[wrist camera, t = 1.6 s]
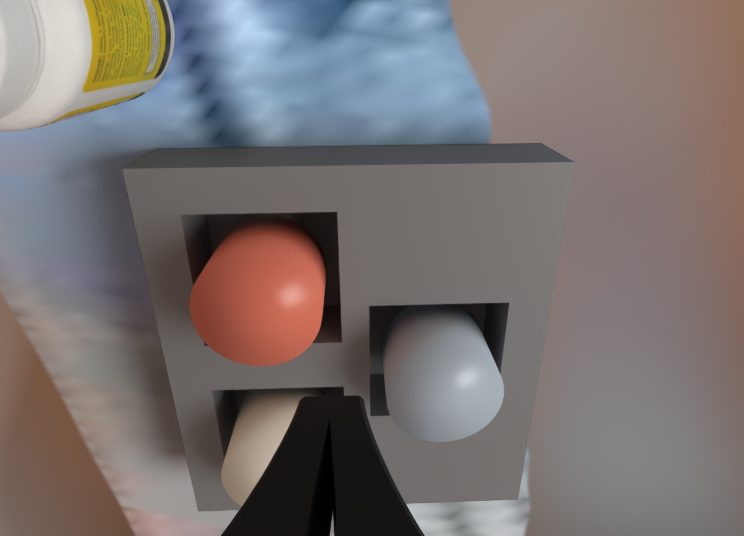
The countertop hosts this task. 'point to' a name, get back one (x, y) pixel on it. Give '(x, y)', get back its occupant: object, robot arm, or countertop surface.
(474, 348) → the button slate
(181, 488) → the countertop surface
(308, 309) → the button red
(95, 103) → the supplement bottle
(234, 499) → the button ivory
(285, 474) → the robot arm
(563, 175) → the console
